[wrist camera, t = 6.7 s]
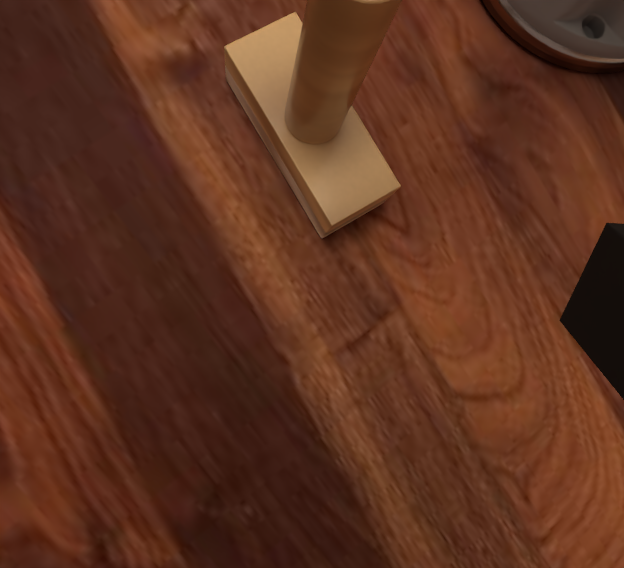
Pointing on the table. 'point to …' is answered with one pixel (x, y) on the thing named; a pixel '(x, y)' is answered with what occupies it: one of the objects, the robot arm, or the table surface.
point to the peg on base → (317, 104)
